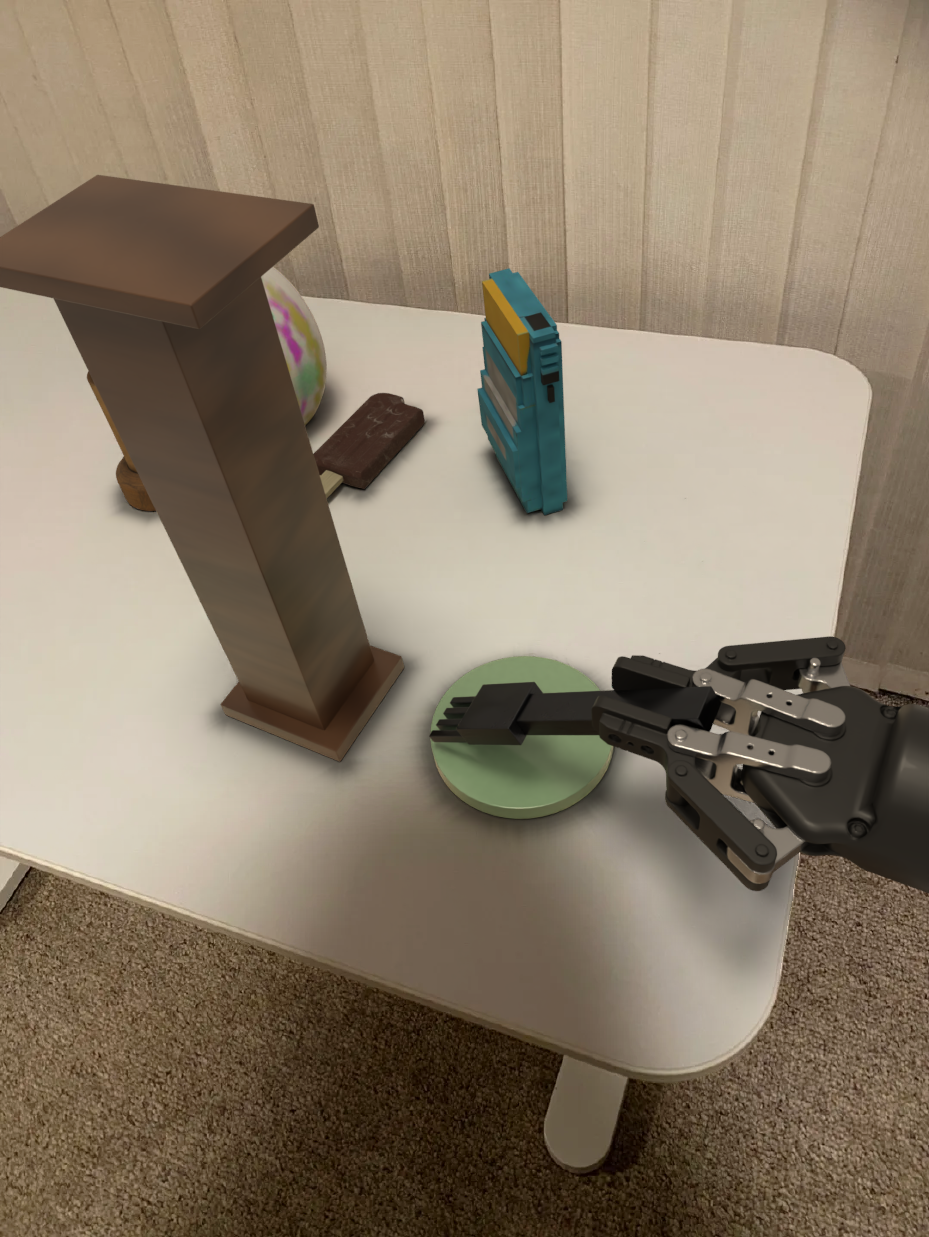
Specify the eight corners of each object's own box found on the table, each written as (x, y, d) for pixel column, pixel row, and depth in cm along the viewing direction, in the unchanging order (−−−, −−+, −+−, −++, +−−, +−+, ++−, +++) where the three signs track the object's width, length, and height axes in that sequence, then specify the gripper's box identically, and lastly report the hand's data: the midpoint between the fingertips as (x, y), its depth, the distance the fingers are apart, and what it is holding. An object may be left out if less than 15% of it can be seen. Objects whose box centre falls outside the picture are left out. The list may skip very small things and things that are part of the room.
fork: (703, 747, 42) (690, 727, 41) (432, 744, 54) (419, 729, 54) (726, 691, 43) (714, 671, 43) (459, 701, 56) (446, 685, 56)
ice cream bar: (328, 529, 71) (430, 418, 79) (323, 513, 69) (428, 402, 77) (275, 511, 73) (380, 404, 81) (269, 495, 72) (376, 388, 79)
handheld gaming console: (574, 510, 69) (568, 332, 58) (522, 525, 69) (506, 349, 57) (530, 436, 75) (517, 263, 64) (482, 449, 75) (461, 278, 64)
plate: (570, 847, 51) (569, 837, 50) (400, 778, 55) (396, 767, 54) (640, 699, 57) (641, 687, 56) (482, 647, 61) (481, 635, 60)
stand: (360, 770, 56) (190, 305, 33) (207, 707, 60) (-37, 260, 37) (424, 674, 60) (314, 203, 37) (277, 622, 65) (97, 174, 42)
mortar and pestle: (175, 517, 74) (80, 313, 60) (109, 504, 76) (4, 304, 62) (218, 465, 78) (138, 263, 64) (154, 454, 80) (64, 255, 66)
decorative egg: (198, 471, 77) (130, 309, 66) (204, 388, 85) (144, 232, 74) (342, 444, 78) (299, 278, 66) (334, 365, 86) (294, 204, 75)
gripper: (1045, 645, 39) (655, 544, 46) (998, 931, 32) (541, 761, 39) (991, 742, 45) (651, 640, 52) (940, 1005, 37) (550, 846, 44)
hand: (605, 693), depth 45 cm, fingers closed on fork
